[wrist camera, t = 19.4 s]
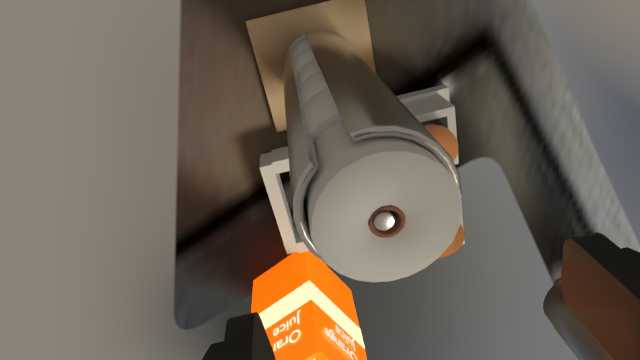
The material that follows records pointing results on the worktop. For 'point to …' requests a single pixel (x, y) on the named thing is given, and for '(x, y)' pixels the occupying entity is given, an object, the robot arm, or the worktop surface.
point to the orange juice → (307, 311)
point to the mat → (283, 28)
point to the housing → (419, 103)
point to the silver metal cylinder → (363, 167)
